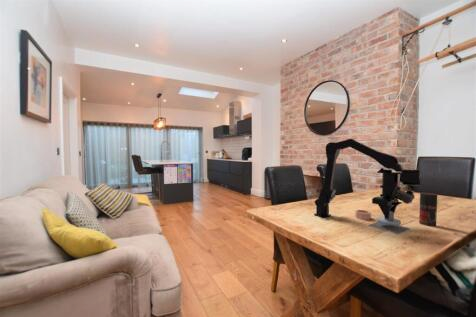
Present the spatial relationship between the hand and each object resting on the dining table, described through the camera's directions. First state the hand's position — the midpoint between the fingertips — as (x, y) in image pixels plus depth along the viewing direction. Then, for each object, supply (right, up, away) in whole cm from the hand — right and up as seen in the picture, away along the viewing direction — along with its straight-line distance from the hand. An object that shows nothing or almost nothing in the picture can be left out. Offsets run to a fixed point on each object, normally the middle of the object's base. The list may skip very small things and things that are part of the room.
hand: (389, 217), depth 96 cm
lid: (0, -2, 0) cm, 2 cm away
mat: (0, -5, 0) cm, 5 cm away
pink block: (-4, -4, +13) cm, 14 cm away
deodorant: (+20, -5, +3) cm, 21 cm away
